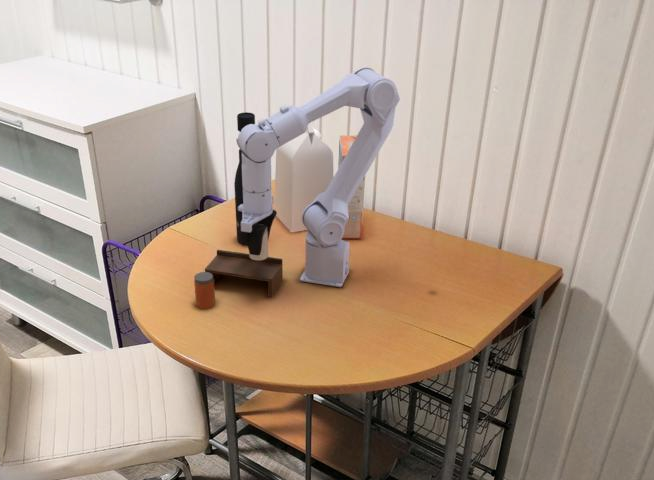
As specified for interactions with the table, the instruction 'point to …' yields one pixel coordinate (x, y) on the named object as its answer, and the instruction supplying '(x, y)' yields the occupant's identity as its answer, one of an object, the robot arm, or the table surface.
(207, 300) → the pepper shaker
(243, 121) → the black water bottle
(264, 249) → the salt shaker
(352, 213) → the cracker box
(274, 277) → the shelf
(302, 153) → the milk
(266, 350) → the table surface
